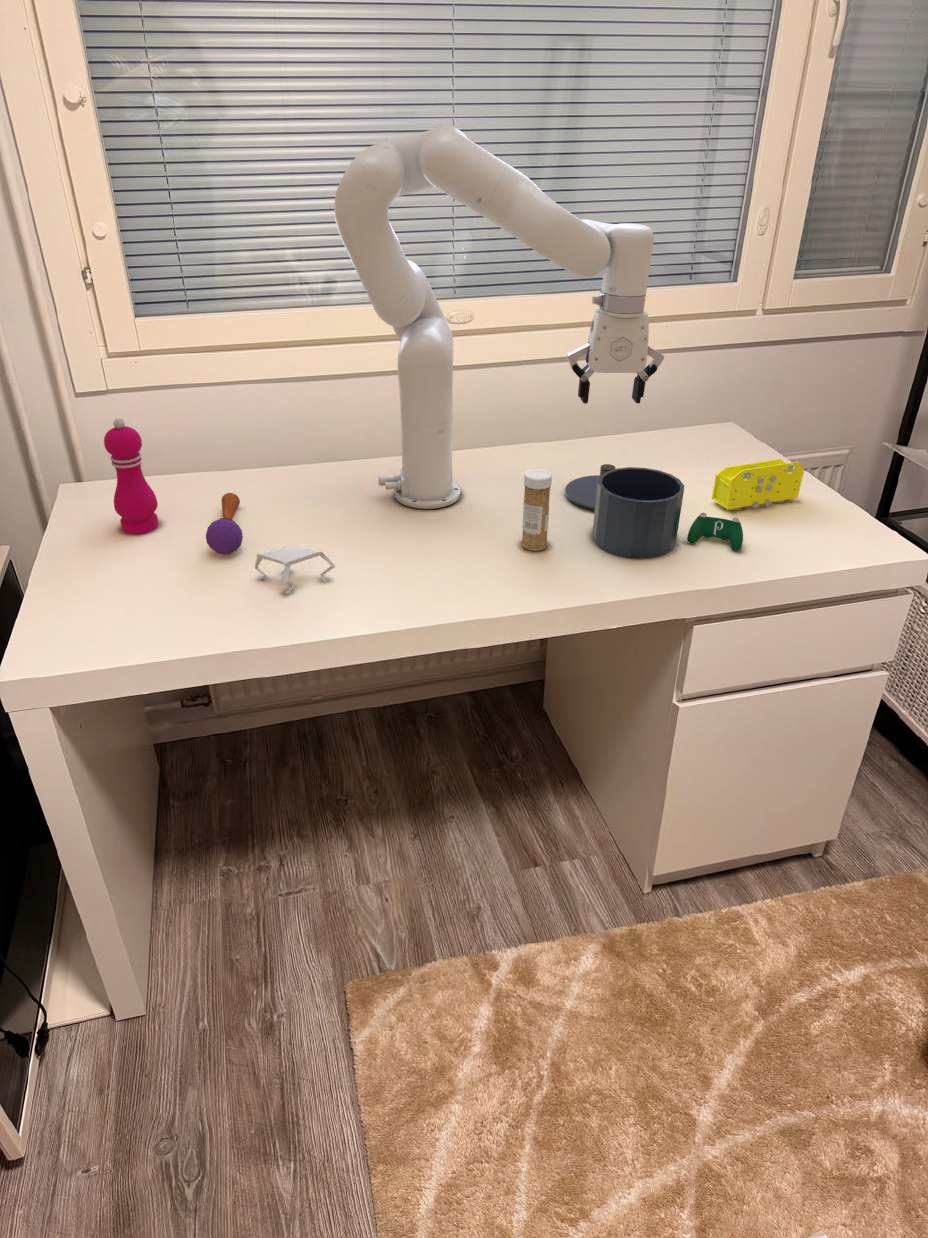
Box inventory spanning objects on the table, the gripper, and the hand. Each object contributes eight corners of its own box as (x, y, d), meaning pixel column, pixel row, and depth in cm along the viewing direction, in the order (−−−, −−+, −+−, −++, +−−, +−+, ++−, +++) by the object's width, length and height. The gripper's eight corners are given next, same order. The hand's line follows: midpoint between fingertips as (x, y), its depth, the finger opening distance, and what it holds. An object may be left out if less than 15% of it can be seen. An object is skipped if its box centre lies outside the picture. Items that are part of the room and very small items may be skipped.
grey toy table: (264, 600, 136) (261, 573, 134) (255, 575, 143) (251, 548, 140) (340, 587, 140) (338, 559, 137) (327, 563, 147) (325, 536, 144)
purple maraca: (248, 487, 162) (242, 528, 145) (246, 518, 165) (240, 561, 147) (214, 483, 161) (205, 524, 143) (213, 514, 163) (203, 558, 146)
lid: (573, 515, 163) (576, 484, 160) (558, 481, 176) (560, 452, 173) (655, 512, 164) (659, 482, 161) (633, 479, 177) (637, 450, 174)
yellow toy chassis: (727, 514, 164) (735, 472, 159) (710, 502, 168) (717, 461, 164) (798, 502, 168) (808, 461, 164) (779, 490, 173) (788, 450, 168)
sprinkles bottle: (552, 545, 153) (557, 473, 145) (534, 554, 150) (539, 481, 143) (533, 537, 155) (537, 465, 148) (515, 545, 153) (518, 472, 145)
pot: (603, 560, 148) (609, 503, 143) (584, 522, 161) (589, 468, 155) (686, 557, 150) (695, 500, 144) (661, 519, 162) (669, 465, 156)
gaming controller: (739, 556, 154) (745, 524, 155) (741, 549, 150) (747, 516, 151) (686, 547, 156) (692, 516, 157) (686, 540, 153) (693, 508, 154)
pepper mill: (170, 522, 159) (150, 415, 148) (142, 539, 153) (119, 428, 143) (139, 514, 161) (117, 408, 151) (110, 530, 156) (85, 421, 145)
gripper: (577, 308, 146) (567, 408, 155) (678, 308, 148) (662, 407, 157) (568, 297, 152) (558, 394, 162) (664, 298, 154) (650, 394, 163)
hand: (609, 400), depth 159 cm, fingers open, 9 cm apart
